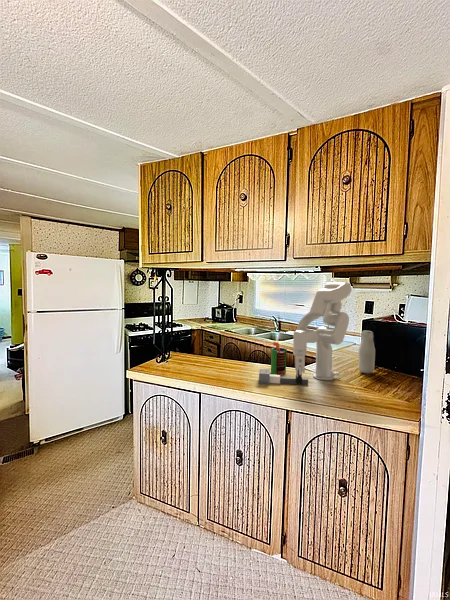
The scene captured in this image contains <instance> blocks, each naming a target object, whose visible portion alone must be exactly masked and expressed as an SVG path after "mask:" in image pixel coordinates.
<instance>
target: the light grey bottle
mask: <svg viewBox="0 0 450 600" xmlns="http://www.w3.org/2000/svg"><path fill="white" fill-rule="evenodd" d="M360 337H361V338H360V343H359V346H358V369H359V371H360V372H361V373H363V374H367V375H368V374H372V373H374V371H375V364H376V363H375V361H376V348H375V342H374V332H373V331H371V330H362V331H361V335H360Z"/></svg>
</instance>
